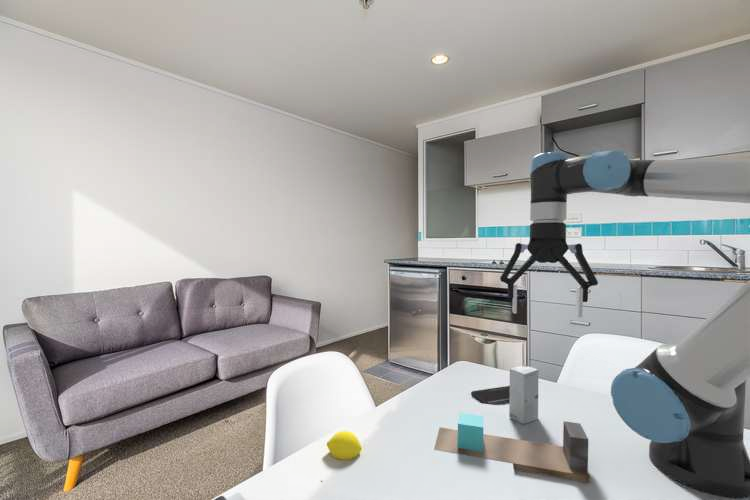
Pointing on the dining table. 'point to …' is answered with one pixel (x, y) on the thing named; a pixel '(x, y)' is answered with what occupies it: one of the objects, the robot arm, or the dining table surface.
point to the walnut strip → (530, 452)
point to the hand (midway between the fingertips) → (545, 314)
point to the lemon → (344, 445)
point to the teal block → (470, 432)
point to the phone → (493, 395)
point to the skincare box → (523, 394)
